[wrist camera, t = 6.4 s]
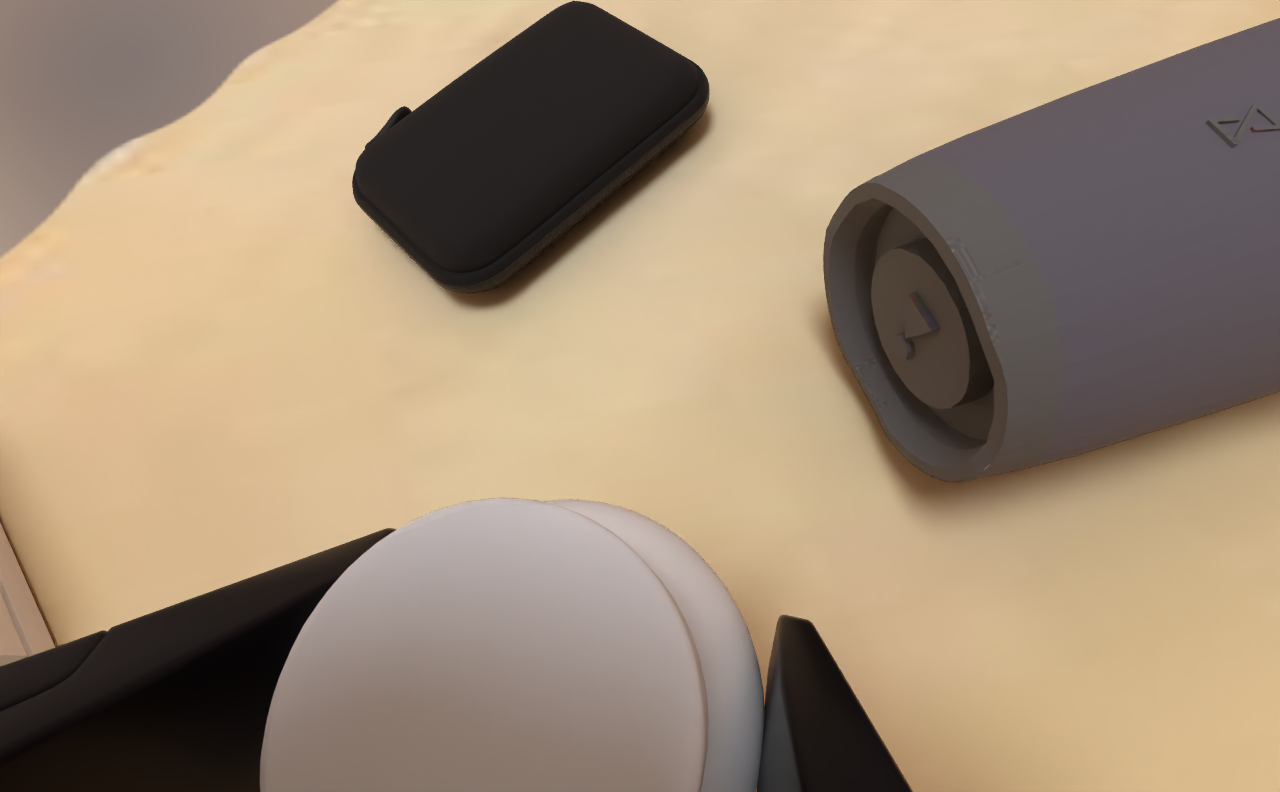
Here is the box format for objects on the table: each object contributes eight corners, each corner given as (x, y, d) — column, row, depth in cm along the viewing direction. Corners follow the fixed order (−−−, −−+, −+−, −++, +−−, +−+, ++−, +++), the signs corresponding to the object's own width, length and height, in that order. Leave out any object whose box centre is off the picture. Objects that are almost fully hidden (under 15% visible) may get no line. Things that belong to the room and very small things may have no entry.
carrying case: (575, 24, 31) (343, 196, 28) (561, -38, 28) (302, 145, 25) (729, 118, 27) (478, 329, 24) (730, 56, 25) (448, 285, 21)
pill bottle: (562, 880, 13) (207, 1345, 4) (483, 630, 15) (148, 567, 6) (790, 759, 13) (937, 930, 4) (680, 534, 15) (628, 346, 7)
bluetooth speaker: (922, 544, 19) (1106, 431, 10) (797, 309, 23) (848, 75, 14) (1579, 307, 19) (2325, -5, 10) (1347, 118, 23) (1742, -228, 14)
